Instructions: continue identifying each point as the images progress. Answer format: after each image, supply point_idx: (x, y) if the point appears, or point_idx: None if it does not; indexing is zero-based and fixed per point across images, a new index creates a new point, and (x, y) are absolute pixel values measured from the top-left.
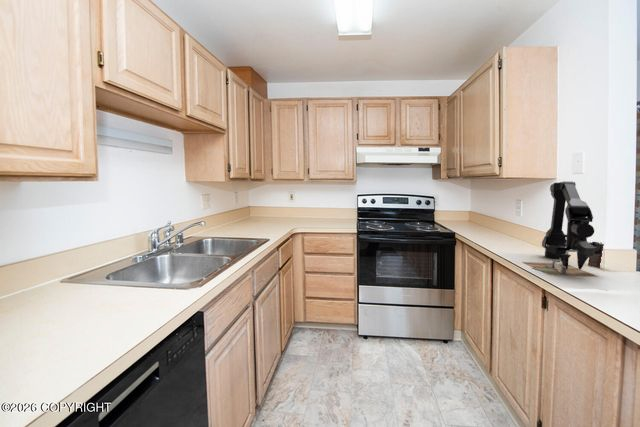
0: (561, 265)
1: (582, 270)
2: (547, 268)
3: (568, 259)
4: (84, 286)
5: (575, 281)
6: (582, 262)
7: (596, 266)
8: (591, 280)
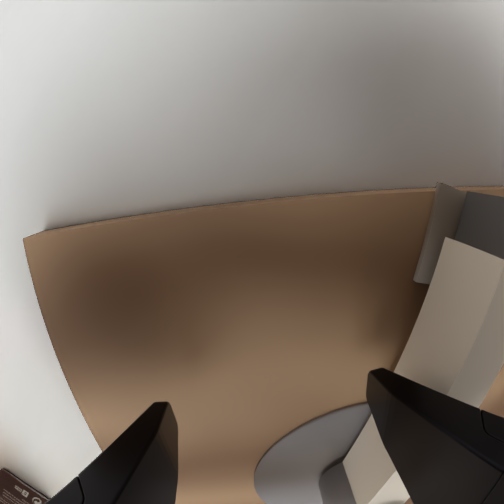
0: (480, 372)
1: (107, 444)
2: None
3: (489, 459)
4: None
5: (387, 74)
6: (127, 476)
7: (7, 487)
8: (145, 154)
